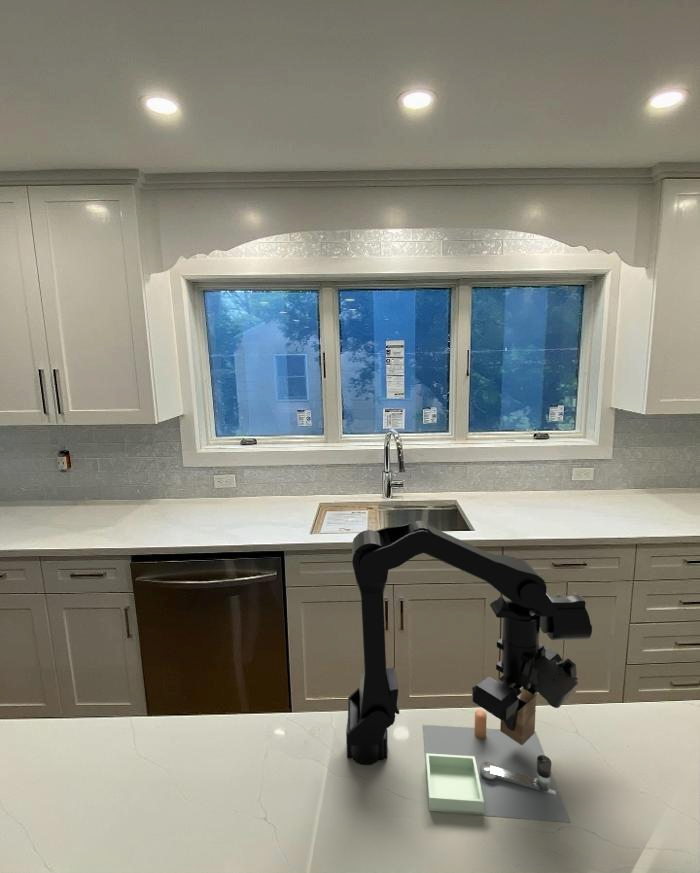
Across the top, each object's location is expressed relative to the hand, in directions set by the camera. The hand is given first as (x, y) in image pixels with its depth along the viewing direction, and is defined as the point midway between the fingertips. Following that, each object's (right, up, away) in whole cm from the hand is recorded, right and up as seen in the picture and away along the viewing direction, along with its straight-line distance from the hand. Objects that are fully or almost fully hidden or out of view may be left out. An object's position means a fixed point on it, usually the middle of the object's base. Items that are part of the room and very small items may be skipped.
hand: (517, 722), depth 77 cm
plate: (-6, -7, -3) cm, 9 cm away
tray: (-13, -6, -7) cm, 15 cm away
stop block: (0, -2, 0) cm, 2 cm away
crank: (-3, -5, -6) cm, 8 cm away
